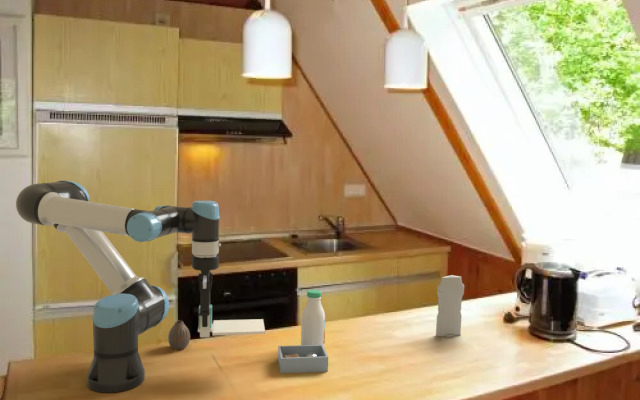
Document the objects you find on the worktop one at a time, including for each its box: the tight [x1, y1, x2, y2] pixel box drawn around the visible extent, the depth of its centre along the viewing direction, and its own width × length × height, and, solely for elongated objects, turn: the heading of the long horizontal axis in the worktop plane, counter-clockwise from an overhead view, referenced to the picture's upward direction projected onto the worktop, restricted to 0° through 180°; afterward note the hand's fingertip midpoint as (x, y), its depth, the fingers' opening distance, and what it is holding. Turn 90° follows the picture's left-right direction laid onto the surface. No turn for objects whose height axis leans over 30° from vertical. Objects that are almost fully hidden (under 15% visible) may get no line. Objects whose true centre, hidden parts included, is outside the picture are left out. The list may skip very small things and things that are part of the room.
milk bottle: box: [300, 289, 326, 347], centre depth 184 cm, size 8×8×20 cm
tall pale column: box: [435, 274, 465, 338], centre depth 203 cm, size 11×4×22 cm, turn 105°
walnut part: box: [284, 354, 300, 358], centre depth 171 cm, size 4×4×3 cm
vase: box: [167, 320, 191, 351], centre depth 184 cm, size 7×7×9 cm
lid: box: [197, 304, 266, 337], centre depth 165 cm, size 19×11×7 cm, turn 99°
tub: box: [277, 344, 329, 374], centre depth 171 cm, size 14×10×5 cm
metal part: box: [306, 353, 317, 357], centre depth 172 cm, size 3×3×3 cm
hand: (205, 333), depth 165 cm, fingers closed on lid, 5 cm apart
